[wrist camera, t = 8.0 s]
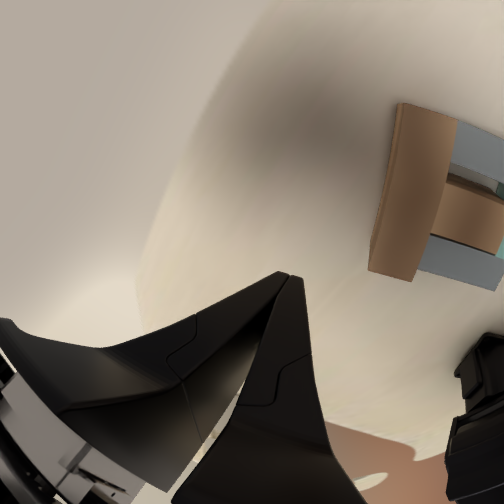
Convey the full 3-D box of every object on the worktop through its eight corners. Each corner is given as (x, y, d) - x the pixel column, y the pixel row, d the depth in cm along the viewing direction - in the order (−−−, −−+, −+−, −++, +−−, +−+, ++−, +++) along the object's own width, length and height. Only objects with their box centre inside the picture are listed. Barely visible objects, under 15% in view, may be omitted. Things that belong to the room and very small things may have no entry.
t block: (501, 141, 11) (527, 152, 8) (462, 267, 17) (473, 299, 13) (397, 103, 14) (404, 102, 11) (370, 240, 19) (367, 270, 16)
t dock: (522, 151, 11) (542, 161, 8) (483, 268, 16) (494, 291, 13) (440, 115, 13) (453, 118, 10) (409, 246, 18) (413, 268, 16)
